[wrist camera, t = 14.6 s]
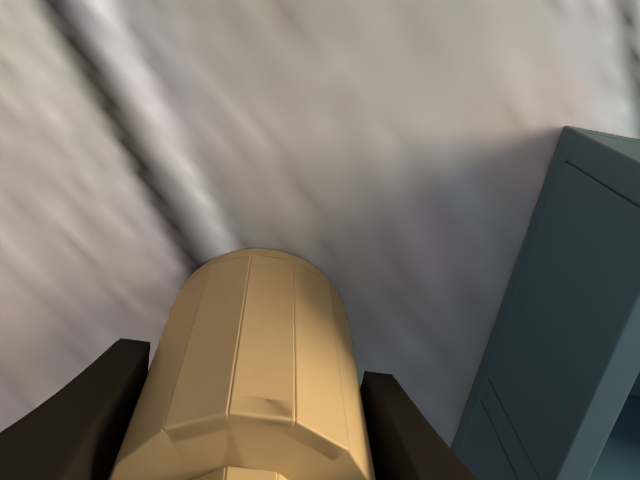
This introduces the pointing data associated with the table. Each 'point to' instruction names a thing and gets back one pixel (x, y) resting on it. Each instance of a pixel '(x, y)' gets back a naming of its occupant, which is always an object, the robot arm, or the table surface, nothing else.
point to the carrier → (567, 329)
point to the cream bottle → (251, 380)
